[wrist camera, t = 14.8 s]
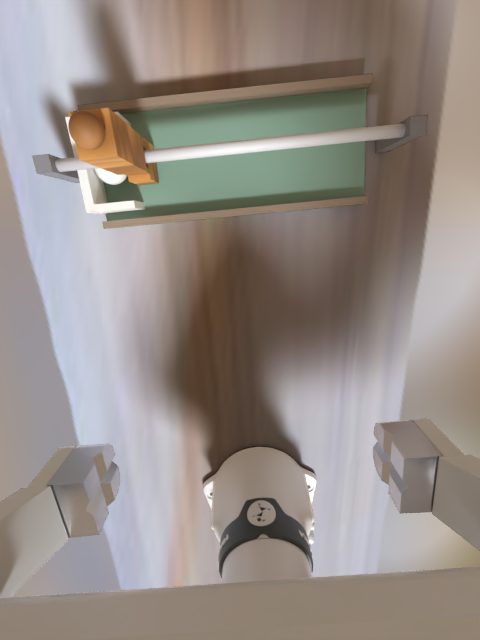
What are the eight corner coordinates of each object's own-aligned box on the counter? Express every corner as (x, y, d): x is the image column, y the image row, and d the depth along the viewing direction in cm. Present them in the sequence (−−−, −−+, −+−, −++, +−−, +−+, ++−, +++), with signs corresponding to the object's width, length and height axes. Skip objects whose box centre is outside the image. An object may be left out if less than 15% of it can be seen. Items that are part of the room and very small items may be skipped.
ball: (91, 185, 35) (111, 187, 38) (118, 181, 34) (137, 183, 37) (83, 149, 34) (105, 155, 37) (111, 144, 33) (131, 150, 36)
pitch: (386, 201, 40) (421, 196, 32) (87, 230, 41) (52, 232, 33) (391, 80, 36) (433, 41, 28) (61, 115, 37) (14, 87, 29)
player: (161, 183, 37) (107, 156, 22) (137, 185, 37) (65, 160, 22) (156, 145, 36) (94, 89, 21) (130, 148, 36) (49, 94, 21)
